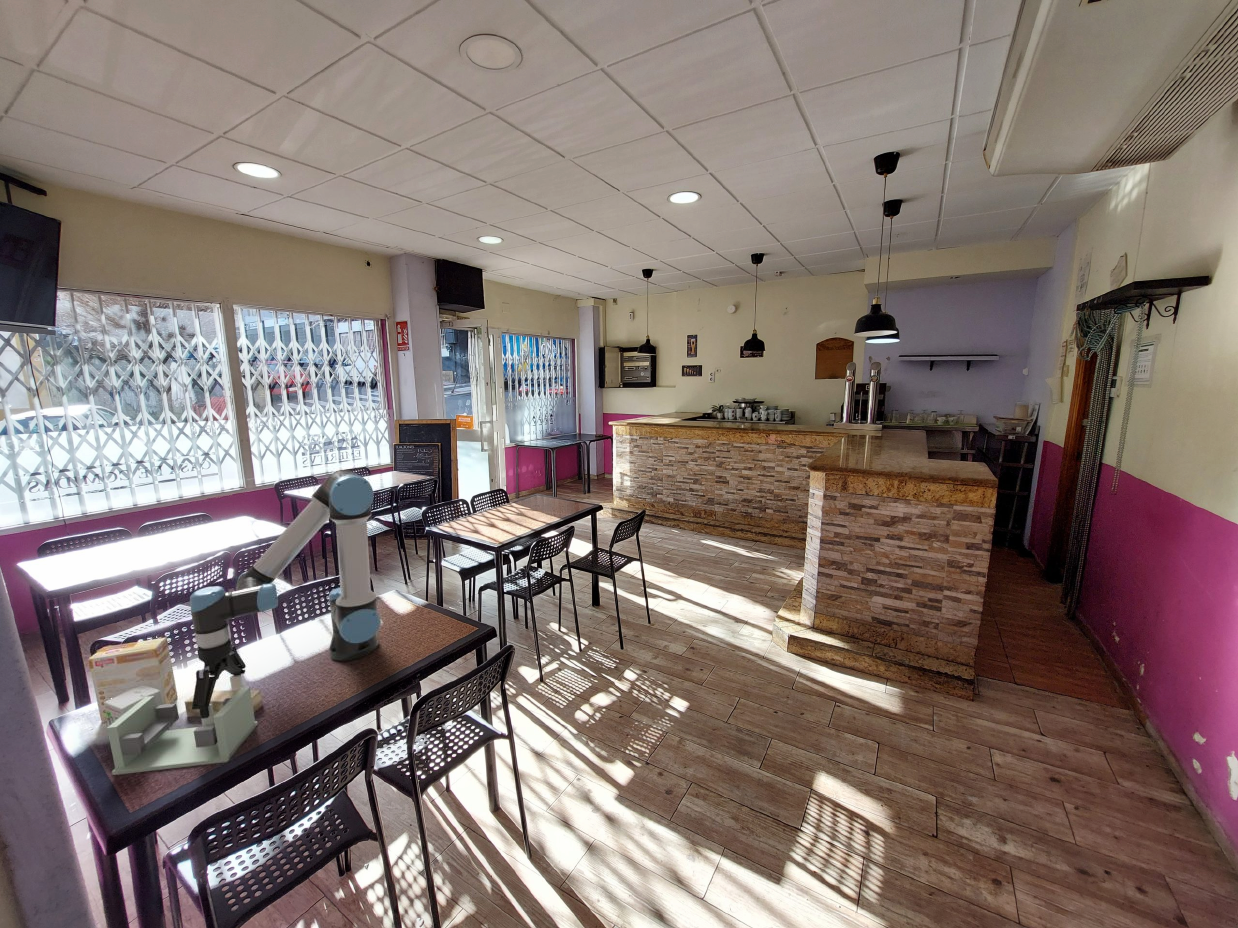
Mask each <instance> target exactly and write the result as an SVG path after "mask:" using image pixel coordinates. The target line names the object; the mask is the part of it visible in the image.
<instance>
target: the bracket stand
mask: <svg viewBox="0 0 1238 928" xmlns="http://www.w3.org/2000/svg"><path fill="white" fill-rule="evenodd" d="M250 690H251V686H245V687H244V686H243V688H241V689H240V690H239V691H238V692H237V693H236V694H235V695H234V696H233V697H232V698H226V699H225V700H224V701H223V707H222V709H221V710H220V711H219V712H218V713H217V714H216V715H215V716H214V723H213V724H212V725H211V726H204V727H203V726H197V727H185V728H177V729H169V728H170V727H172V726H173V725H174V724H175V723H176V722H177V721H178V720H179V718H180V716H179V710H178V704H177V702H176V703H175V702H173V703H172V704H164V705H159V706H158V707H156V704H155V699H154V696H149V697H145V698H143V699H142V700H141V701H140V702H138V703H137V704H136V705H135V706H133V707H132V708H131V709H130V710H128V711H127V712H126V713H125V714H124V715H122V716H121V717H120V718H119V719H117V720H116V721H115V722H114V723H112V724H111V725H110V726H108V727H106V730H107V735H108V739H109V745H110V750H111V753H112V758H113V764H114V769H113V770H112V771H111V775H112V776H116V775H117V776H118V775H126V774H127V775H128V774H135V773H142V772H150V771H151V772H152V771H159V770H160V771H161V770H168V769H177V768H186V767H194V766H196V767H197V766H202V765H212V764H221V763H228V761H230V759H231V758H232V756H234V754H235V753H236V751H238V749H239V748H240V747H241V746H242V744H243V743H244V742H245V741H246V740H247V738H248V737H249V736H250V734H251V733H252V732H253V731H254V729H255V728H256V727H257V726H258V724H259V723H258V721H257V720H256V719H255V712H254V711H253V704H252V698H251V691H250Z"/></svg>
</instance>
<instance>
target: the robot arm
mask: <svg viewBox="0 0 1238 928" xmlns="http://www.w3.org/2000/svg"><path fill="white" fill-rule="evenodd" d="M374 495H375V494H374V489H373V487H372V485H371V483H370V482H369V481H368V480H367V479H366V478H365V477H363V476H361V475H360V474H358V473H356V472H355V471H354V470H353V471H352V470H349V469H342V470H337V471H334V472H333V473H331V474H330V475H329V476H328V477H326V478H325V480H324V481H323V482H322V484H320V486H319V487H318V488H317V489H316V490H315V491H314V493H313V494H312V495H311V501H310V502H309V503H308V504H307V506H306V507H304V509H303V510H302V511H301V512H300V513H299V514H298V515H297V516H296V517H295V519H294V520H293V521H292V522H291V523H290V524H289V525H288V526H287V527H286V529H285V530H284V531H283V532H282V533H281V534H280V535H279V536H278V537H277V538H276V540H275V541H274V542H272V544H271V545H270V546H269V547H268V548H267V550H265V552H264V553H263V554H261V556H260V557H259V558H258V559H257V560H256V562H255V563H254V564H253V565H252V566H251V567H250V568H249V569H248V570H247V571H245V572H242V573H241V574H240V575H239V577H237V581H236V584H235V590H233V591H232V590H231V591H225V588H224V587H222V586H219V585H216V586H214V585H213V586H207V587H206V586H205V587H203V588H199V589H197V590H195V591H194V592H193V593H192V594H191V595H190V597H189V602H190V603H189V605H190V614H191V618H192V619H191V620H192V625H193V631H194V636H195V641H196V646H197V648H196V649H197V656H198V659H199V661H201V662H203V663H204V665H203V669H197V670H196V672H195V676H196V677H195V679H196V680H195V688H194V692H193V693H194V694H193V695H194V698H193V704H192V710H196V709H199V710H200V715H201V717H200V720H201V724H202V725H201V727H204V726H211V725H212V724H213V723H214V712H213V706H212V704H210V701H211V697H212V694H213V691H215V690H214V689H215V686H216V682H217V681H218V680H219V678H220V676H221V674H222V672H224V671H225V672H227V673H228V674H230V677H229V681H230V687H231V689H230V690H240V689H241V688H243V687H244V685H243V676H242V675H243V674H246V667H247V666H246V665H247V664H246V663H245V662H244V661H243V658H242V657H241V655H240V654H239V652H238V650H237V647H236V645H233V642H232V638H231V637H232V634H231V629H230V623H229V622H230V621H229V620H230V619H235V618H239V617H244V616H249V615H253V614H258V613H264V612H267V611H270V610H272V609H275V608H277V607H278V605H279V599H278V591H277V586H276V584H275V583H273V582H274V581H275V580H277V578H278V576H279V575H281V573H283V571H284V570H285V568H286V567H287V566H288V565H289V564H290V563H291V562H292V561H293V560H294V559H295V557H296V556H297V555H298V554H299V553H300V552H301V550H302V549H304V547H305V546H306V545H307V544H308V543H309V541H310V540H311V539H312V538H313V537H314V536H315V535H316V534H317V533H318V532H319V530H321V528H322V527H323V526H324V525H325V523H327V521H328V520H331V521H332V522H334V523H335V527H336V528H335V529H336V544H337V558H338V560H337V561H338V570H339V571H338V574H339V586H340V587H337V588H334V589H333V590H331V591H330V592H329V594H328V602H329V608H330V618H331V619H330V620H331V625H332V626H331V627H332V637H331V640H330V644H329V648H328V649H329V650H328V653H329V657H330V659H332V660H334V661H339V662H342V661H343V662H345V661H353V660H357V659H361V658H363V657H366V656H367V655H369V654H371V653H372V652H374V651H375V650H376V649H377V648H378V646H379V639H378V636H377V634H378V631H379V630H380V627H381V625H382V621H381V615H380V614H379V612H378V607H377V606H378V604H377V603H378V602H377V601H378V600H377V594H376V593H375V592H374V591H372V589H371V572H370V571H371V570H370V557H369V556H370V555H369V539H368V538H369V537H368V522H367V521H368V520H369V518H370V517H372V514H373V513H372V504H373V501H374Z"/></svg>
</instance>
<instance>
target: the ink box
mask: <svg viewBox="0 0 1238 928" xmlns="http://www.w3.org/2000/svg"><path fill="white" fill-rule="evenodd" d="M149 696H154V699H155V704H156V707H158V706H159V705H163V703H162V698H161V693H160V690H157V689H154V688H151V687H148V686H145V685H139V686H137V687H135V688H133V689H131V690H129V691H127V692H125V693H122V694H120V695H118V696H116V697H114V698H112V699H109V700H107V701H105V702H104V706H105V711H106V716H107V721H106V722H107V726H108V727H109V726H110V725H111V724H112V723H114V722H115V721H116V720H117V719H119V718H120V717H121V716H122V715H124V714H125V713H126V712H127V711H128V710H130V709H131V708H132V707H133V706H135V705H136V704H137V703H138V702H140V701H141V700H142V699H143V698H145V697H149Z"/></svg>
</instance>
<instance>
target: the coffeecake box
mask: <svg viewBox="0 0 1238 928" xmlns="http://www.w3.org/2000/svg"><path fill="white" fill-rule="evenodd" d="M87 660H88V664H89V670H90V674H91V675H90V676H91V680H92V683H93V689H94V693H95V698H96V702H97V707H98V712H99V717H100V718H99V719H100V721H101V723H106V722H108V721H107V716H106V711H105V706H104V702H105V701H107V700H109V699H111V698H114V697H116V696H118V695H120V694H122V693H125V692H127V691H129V690H131V689H133V688H135V687H137V686H139V685H145V686H148V687H151V688H154V689H157V690H160V693H161V698H162V703H163V705H164V704H174V703H175V700H176V699H177V698H178V691H177V687H176V685H177V684H176V680H175V675H174V669H173V664H172V663H173V662H172V657H171V653H170V648H169V643H168V637H161V638H154V639H147V640H142V641H137V642H129V643H122V644H117V645H109V646H102V648H100V649H99V650H97V652H95V653H94V654H92V655H91V656H90V657H89V658H88V659H87Z"/></svg>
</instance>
